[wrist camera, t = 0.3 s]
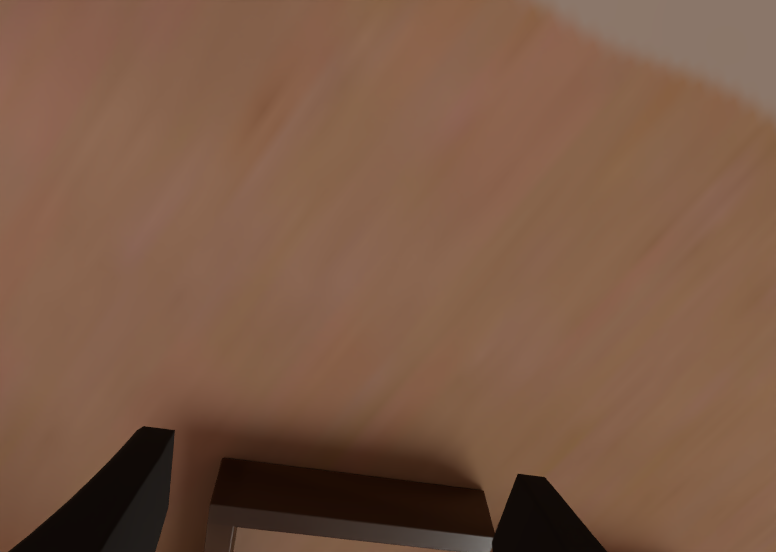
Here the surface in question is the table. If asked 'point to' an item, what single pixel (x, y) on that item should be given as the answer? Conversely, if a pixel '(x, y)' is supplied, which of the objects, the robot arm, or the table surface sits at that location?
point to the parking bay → (344, 508)
